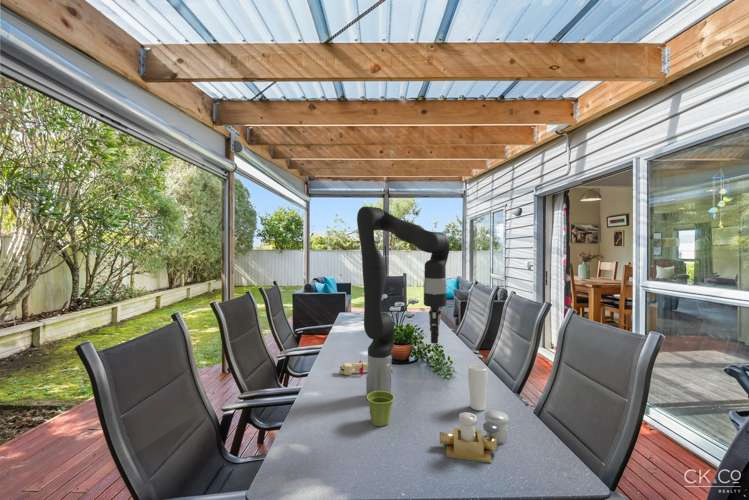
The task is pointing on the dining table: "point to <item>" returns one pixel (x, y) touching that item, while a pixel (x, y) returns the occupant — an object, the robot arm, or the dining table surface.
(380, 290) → the robot arm
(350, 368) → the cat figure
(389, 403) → the plant pot
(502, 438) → the cylinder
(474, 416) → the white mushroom shaped knob
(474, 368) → the white tall cylinder
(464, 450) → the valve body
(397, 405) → the dining table surface
